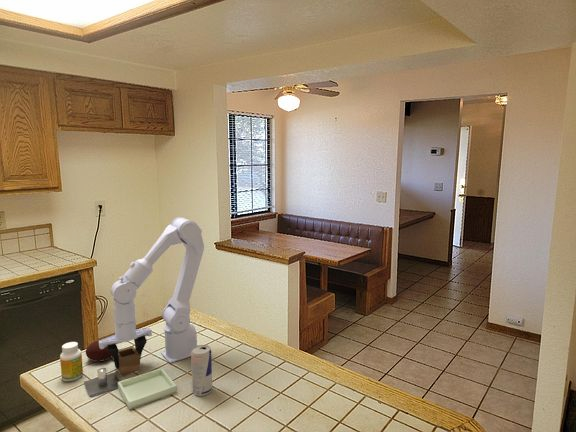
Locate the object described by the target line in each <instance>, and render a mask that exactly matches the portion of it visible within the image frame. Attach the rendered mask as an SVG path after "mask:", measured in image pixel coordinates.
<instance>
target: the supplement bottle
mask: <svg viewBox="0 0 576 432" xmlns="http://www.w3.org/2000/svg"><path fill="white" fill-rule="evenodd" d="M61 351H62V352H61V353H60V356H59V361H60V362H59V363H60V372H61V380H62V381H63V382H72V381H76V380H78V379H80V378H81V377H82V376H83V375H84V369H83V356H82V350H81V349H80V348H79V343H78V342H77V341H70V342H66V343H64V344H63V345H62V346H61Z"/></svg>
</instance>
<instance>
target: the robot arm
mask: <svg viewBox="0 0 576 432" xmlns="http://www.w3.org/2000/svg"><path fill="white" fill-rule="evenodd" d="M202 232H203V230H202V229H201V228H200V226H199V225H198V223H197V222H195V221H193V220H190V219H187V218H186V217H184V216H177V217H175V218H174V219H173V220H172V221H171V223H170V224H168V225H167V226H166V227H165V229H164V231H163V232H162V233H161V235H160V236H159V238H157V240H156V242H154V244H153V245H152V246H151V248H150V249H149V251H148V252H147V253H146V254H145V256H144V257H143V258H139V259H136V260H135V261H131V263H130V264H129V266H130V267H129V268H128V270H127V271H125V273H124V274H123V275H120V277H119V278H118V279H119V280H117V281H114V283H113V284H112V286H111V289H110V295H111V296H112V297H113V307H112V308H113V320H114V323H113V324H114V333H115V334H113V335H110V336H108V337H106V338H102V339H98V340H99V348H100V349H104V347H107V349H108V350H109V352H110V353H111V355H112V357H111V358H112V360H113V363H114V367H115V368H116V370H117V369H118V368H119V361H118V350H119V348H118V344H121V343H122V344H123V343H128V342H131V341H133V342H134V348H135V349H136V350H137V352H138V353H139V354H140V360H141V357H142V355H143V350H144V348H145V346H146V345H147V338H146V337H152V336H153V333H152V328H150V327H146V328H145V327H144V328H140V329H137V325H136V324H137V323H136V308H135V307H136V306H135V300H134V299H135V298H136V296H137V291H138V290H139V288H140V287H141V286H142V285H143V283H144V282H145V281H146V280H147V279H148V278H149V276H150V275H151V274H152V273H153V265H154V264H155V263H156V262H157V261H158V260H159V259H160V258H161V257H162V255H163V254H165V252H166V251H168V249H169V248H170V247H172V246H174V245H178V244H183V246H184V247H185V249H186V250H185V252H184V253H185V254H184V256H183V261H182V263H181V267H180V269H179V270H180V271H179V274H178V277H177V281H176V284H175V288H174V292H173V295H172V296H171V298H169V300H168V302H167V305H166V306H165V307H164V309H163V310H162V313H161V316H162V320H163V321H165V325H164V347H165V349H164V350H163V351H161V355H162V356H163V357H164V358H165V359H166V361H167V362H168V363H171V364H172V363H175V362H178V361H181V360H185V359H188V358H191V351H192V348H194V347H195V346H198V334H197V330H196V327H195V325H193V324H192V323H191V317H190V314H191V305H190V304H191V303H190V300H191V297H192V292H193V289H194V286H195V282H196V279H197V274H198V272H199V268H200V265H201V261H202V257H203V254H204V251H205V245H204V244H205V242H204V241H203V240H204V239H203V237H202V236H203V235H202ZM190 323H191V324H190Z"/></svg>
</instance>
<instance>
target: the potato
mask: <svg viewBox="0 0 576 432" xmlns="http://www.w3.org/2000/svg"><path fill="white" fill-rule="evenodd" d="M99 340H100V339H98V340H95V341H93V342H92V343H90V344H89V345H87V347H86V348H85V351H84V353H85V355H86V357H87V359H89V360H90V361H93V362H103V361H107V360H109V359H110V358H112V355H111V353H110V352H109V350H108V349H107V347H104V349H100V348H99Z"/></svg>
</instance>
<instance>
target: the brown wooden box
mask: <svg viewBox="0 0 576 432" xmlns="http://www.w3.org/2000/svg"><path fill="white" fill-rule="evenodd" d="M118 361H119V368H118V369H116V370H117V371H118V373H119V375H120V377H124V376H128V375H131V374H133V373H137V372H141V371H142V370H141V368H142V367H141V359H140V354H139V353H138V352H137V350H136V349H135V345H131V346H127V347H122V348H120V349H119V348H118Z"/></svg>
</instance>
